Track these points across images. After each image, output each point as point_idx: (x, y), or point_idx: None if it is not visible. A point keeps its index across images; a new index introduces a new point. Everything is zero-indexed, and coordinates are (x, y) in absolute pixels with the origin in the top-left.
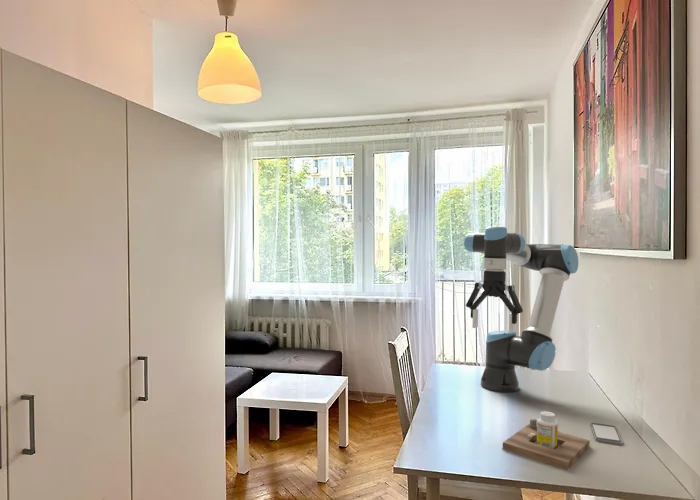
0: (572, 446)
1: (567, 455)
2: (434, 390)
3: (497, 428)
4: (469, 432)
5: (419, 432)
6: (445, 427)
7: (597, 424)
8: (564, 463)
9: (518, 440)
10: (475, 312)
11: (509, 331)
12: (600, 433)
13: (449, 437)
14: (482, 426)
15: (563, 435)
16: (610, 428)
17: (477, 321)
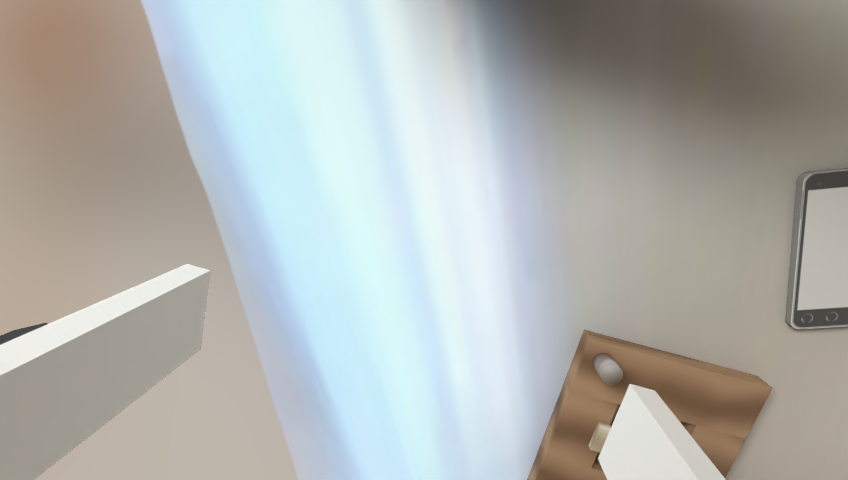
0: (712, 452)
1: None
2: (195, 86)
3: (492, 359)
4: (426, 421)
5: (312, 474)
6: (358, 416)
7: (827, 183)
8: None
9: (566, 472)
10: (13, 474)
11: (613, 476)
12: (818, 272)
13: (388, 472)
14: (449, 364)
15: (694, 385)
16: None
17: (158, 306)
